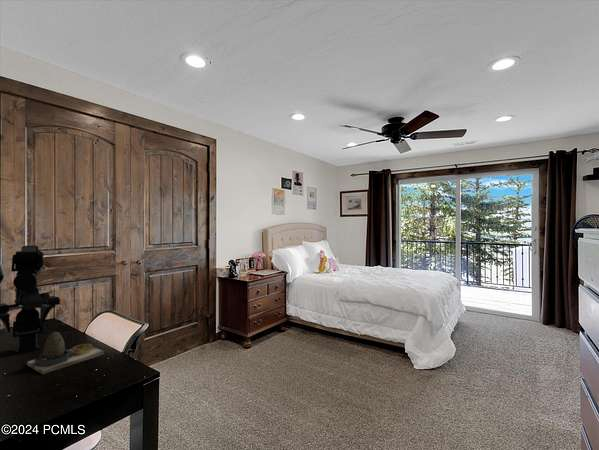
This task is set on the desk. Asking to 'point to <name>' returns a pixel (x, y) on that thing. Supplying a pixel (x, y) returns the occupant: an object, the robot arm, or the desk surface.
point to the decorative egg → (54, 346)
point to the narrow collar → (82, 349)
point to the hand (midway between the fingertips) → (25, 328)
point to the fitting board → (71, 361)
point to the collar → (50, 362)
